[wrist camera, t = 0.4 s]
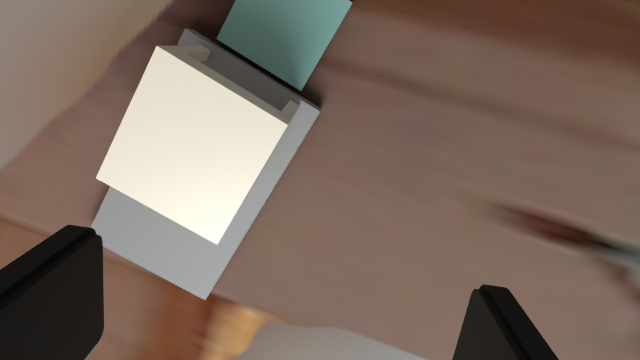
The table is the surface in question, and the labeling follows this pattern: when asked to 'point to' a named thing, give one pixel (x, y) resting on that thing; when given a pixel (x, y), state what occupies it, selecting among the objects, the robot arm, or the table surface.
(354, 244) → the table surface
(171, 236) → the puzzle board
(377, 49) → the table surface
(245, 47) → the teal mat
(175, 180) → the sliding cover
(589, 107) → the table surface
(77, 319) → the robot arm
